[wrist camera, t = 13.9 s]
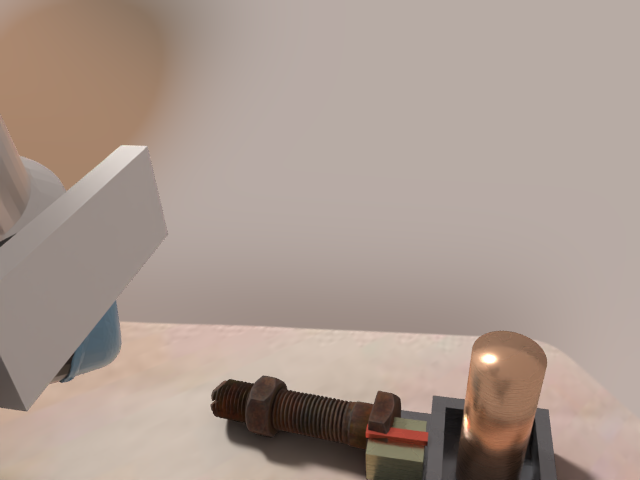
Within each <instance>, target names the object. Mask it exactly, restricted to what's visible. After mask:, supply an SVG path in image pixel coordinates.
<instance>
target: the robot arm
mask: <svg viewBox="0 0 640 480" xmlns="http://www.w3.org/2000/svg"><path fill="white" fill-rule="evenodd" d="M167 235H168V231H167V227H166V223H165V219H164V214H163V210H162V206H161V202H160V197H159V193H158V189H157V185H156V180H155V176H154V172H153V167H152V163H151V159H150V155H149V150H148V146H127V145H121V146H120V147H119V148H118V149H116V150H115V151H114V152H113V153H112V154H110V155H109V156H108V157H107V158H106V159H104V160H103V161H102V162H101V163H100V164H99V165H97V166H96V167H95V168H94V169H93V170H92V171H90V172H89V173H88V174H87V175H85V176H84V177H83V178H82V179H81V180H80V181H78V182H77V183H76V184H75V185H74V186H72V187H71V188H70V189H69V190H68V191H66V190H65V188H64V186H63V185H62V183H61V182H60V180H59V178H58V177H57V176H56V175H55V174H54V173H53V172H52V171H50V170H49V169H48V168H46V167H45V166H43V165H41V164H40V163H38V162H36V161H34V160H31V159H28V158H26V157H22V156H19V154H18V152H17V150H16V148H15V145H14V143H13V141H12V139H11V136H10V134H9V132H8V130H7V128H6V125H5V123H4V121H3V119H2V117H1V114H0V408H7V409H14V410H21V411H28V410H29V408H30V407H31V406H32V405H33V403H34V402H35V401H36V400H37V398H38V397H39V396H40V395H41V393H42V392H43V391H44V390H45V388H46V387H47V386H48V385H49V384H52V383H56V382H61V383H63V382H68V381H70V380H72V379H73V378H74V377H75V376H77V375H80V374H84V373H87V372H90V371H93V370H96V369H99V368H102V367H105V366H107V365H108V364H110V363H111V362H112V361H113V360H114V359H115V358H116V357H117V355H118V354H119V352H120V349H121V331H120V323H119V317H118V310H117V304H116V299H117V298H118V296H119V295H120V294H121V293H122V292H123V290H124V289H125V288H126V287H127V285H128V284H129V283H130V282H131V280H132V279H133V278H134V277H135V275H136V274H137V273H138V271H139V270H140V269H141V268H142V267H143V265H144V264H145V263H146V261H147V260H148V259H149V258H150V257H151V255H152V254H153V253H154V252H155V250H156V249H157V248H158V246H159V245H160V244H161V243H162V241H163V240H164V239H165V238H166V236H167Z"/></svg>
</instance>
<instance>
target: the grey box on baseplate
mask: <svg viewBox="0 0 640 480" xmlns="http://www.w3.org/2000/svg"><path fill="white" fill-rule="evenodd" d="M464 405H465V399H457V398H449V397H440V396H433V401H432V413H431V414H427V413H419V412H411V411H403V410H401V418H397V417H394V421H393V425H392V427H390V430H389V432H388V433H387V434H383V433H379V432H375V431H371V430H368V424H367V429H366V438H368V444H367V449H366V479H371V480H457V477H456V463H457V456H458V449H459V441H460V434H461V427H462V420H463V412H464ZM371 438H387V439H388V442H384V441H380V440H376V439H371ZM520 480H557V476H556V467H555V459H554V451H553V443H552V435H551V427H550V419H549V410H548V409H540V408H537V409H536V413H535V417H534V421H533V426H532V430H531V434H530V438H529V442H528V447H527V451H526V455H525V459H524V463H523V468H522V472H521V476H520Z"/></svg>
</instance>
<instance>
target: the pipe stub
mask: <svg viewBox="0 0 640 480" xmlns="http://www.w3.org/2000/svg"><path fill="white" fill-rule="evenodd" d="M546 367H547V358H546V355H545V353H544V351H543V349H542V348H541V347H540V346H539V345H538V344H537V343H536V342H534V341H533V340H532V339H530V338H528V337H526V336H523V335H521V334H518V333H515V332H509V331H494V332H489V333H487V334H484V335H482V336H481V337H479V338H478V339H477V340H476V341H475V343H474V345H473V348H472V354H471V362H470V369H469V376H468V383H467V391H466V398H465V405H464V412H463V420H462V427H461V434H460V441H459V449H458V456H457V463H456V477H457V480H520V476H521V472H522V468H523V463H524V459H525V455H526V451H527V447H528V442H529V438H530V434H531V430H532V426H533V421H534V417H535V413H536V409H537V405H538V400H539V396H540V392H541V388H542V384H543V379H544V375H545V371H546Z"/></svg>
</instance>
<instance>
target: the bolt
mask: <svg viewBox="0 0 640 480" xmlns="http://www.w3.org/2000/svg"><path fill="white" fill-rule="evenodd" d="M211 397H212V401H214V400H215V401H214V402H213V403H212V404H211V410H212V411H213V414H214V415H215V416H216V417H220V418H224V419H230V420H234V421H239V422H242V423H243V422H245V423H246V425H247V428H248V430H249V431H251V432H253V433H255V434H258V435H263V436H267V437H273V436H274V435H275V434H277V432H278V431H279V430H281V431H282V430H283V431H287V432H292V433H297V434H300V435H302V434H303V435H307V436H311V437H316V438H320V439H325V440H328V441H331V440H332V441H334V442H335V441H336V442H340V443H344V444H348V445H350V446H351V447H356V448H361V449H367V444H368V438H366V429H367V424H368V430H371V431H375V432H379V433H383V434H387V433H388V432H389V430H390V427H392V425H393V421H394V417H397V418H401V401H400V398H399V397H398V396H396V395H394V394H393V393H387V392H382V391H378V392H377V395H376V399H375V402H374V404H369V403H364V402H351V401H350V402H348V401H345V402H344V401H343V400H341V401H340V400H339V399H337V400H336V399H335V398H334V399H332V398H327V397H325V398H324V397H323V396H321V397H320V396H319V395H317V396H316V395H312V394H307V393H305V394H304V393H300V392H297V393H296V391H293V392H292V390H290V391H288V390H287V386H286V384H285V383H284V382H283V381H281V380H279V379H277V378H274V377H268V376H262V377H261V378H259V379H258V380H257V381H256V382H255V384H254V383H252V384H251V383H247V382H243V381H236V380H232V379H229V380H228V381H223V382H222V383H221V384H220V385H219V386H218V387H216V388H215V389H214V390H213V392H212V395H211ZM371 439H376V440H380V441H384V442H388V439H387V438H371ZM365 459H366V457H365Z"/></svg>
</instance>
